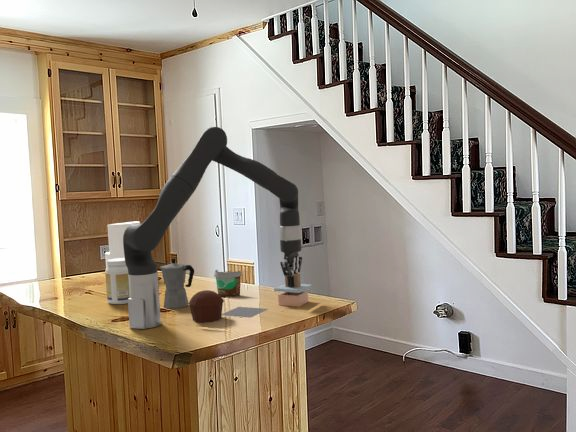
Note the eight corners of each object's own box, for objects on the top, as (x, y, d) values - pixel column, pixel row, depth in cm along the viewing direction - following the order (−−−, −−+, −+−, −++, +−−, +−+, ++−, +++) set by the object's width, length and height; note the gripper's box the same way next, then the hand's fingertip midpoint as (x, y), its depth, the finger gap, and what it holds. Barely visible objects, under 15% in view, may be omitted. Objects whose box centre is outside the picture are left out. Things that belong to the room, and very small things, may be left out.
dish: (299, 308, 192) (298, 296, 192) (278, 307, 196) (278, 294, 196) (308, 303, 200) (307, 291, 199) (288, 302, 203) (288, 290, 203)
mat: (250, 319, 180) (250, 317, 180) (220, 317, 186) (219, 314, 186) (268, 311, 191) (268, 308, 191) (238, 309, 196) (238, 306, 196)
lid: (299, 292, 191) (299, 277, 190) (274, 291, 195) (273, 276, 195) (311, 287, 200) (311, 272, 199) (286, 285, 204) (286, 271, 204)
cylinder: (151, 277, 274) (147, 221, 272) (123, 284, 259) (119, 224, 257) (126, 275, 283) (123, 221, 281) (99, 281, 268) (95, 224, 266)
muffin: (182, 322, 181) (181, 292, 181) (210, 315, 189) (208, 286, 188) (204, 328, 173) (202, 296, 172) (232, 320, 180) (230, 290, 180)
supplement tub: (145, 298, 223) (142, 256, 222) (128, 305, 212) (125, 261, 211) (118, 298, 227) (115, 257, 226) (101, 304, 215) (98, 261, 214)
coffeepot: (154, 308, 205) (150, 260, 204) (169, 302, 213) (166, 256, 212) (188, 310, 198) (185, 260, 197) (203, 304, 207) (200, 256, 206)
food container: (208, 296, 220) (207, 272, 220) (217, 293, 226) (216, 269, 225) (234, 298, 215) (233, 273, 214) (243, 295, 220) (241, 270, 219)
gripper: (289, 236, 204) (291, 282, 205) (272, 240, 192) (274, 289, 193) (308, 236, 201) (310, 283, 202) (291, 240, 188) (293, 290, 189)
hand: (292, 286), depth 197 cm, fingers closed on lid
